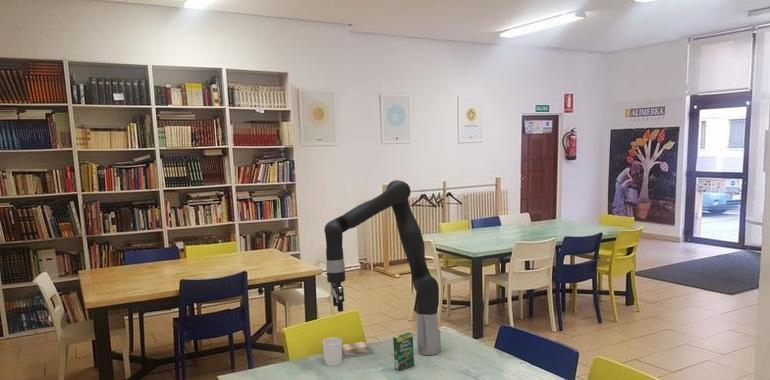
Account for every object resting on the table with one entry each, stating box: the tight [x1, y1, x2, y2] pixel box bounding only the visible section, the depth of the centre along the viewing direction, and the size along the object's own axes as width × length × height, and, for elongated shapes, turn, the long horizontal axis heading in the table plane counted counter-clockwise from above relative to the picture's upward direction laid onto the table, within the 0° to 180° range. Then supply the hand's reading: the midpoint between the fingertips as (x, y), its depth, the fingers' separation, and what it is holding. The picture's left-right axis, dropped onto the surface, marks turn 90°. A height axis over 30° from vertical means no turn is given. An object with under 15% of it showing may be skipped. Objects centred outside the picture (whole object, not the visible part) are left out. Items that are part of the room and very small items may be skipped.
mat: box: [342, 343, 375, 360], centre depth 210 cm, size 14×12×1 cm
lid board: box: [342, 341, 369, 356], centre depth 210 cm, size 10×6×2 cm, turn 107°
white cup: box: [322, 337, 343, 367], centre depth 199 cm, size 8×8×10 cm
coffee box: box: [392, 332, 415, 372], centre depth 193 cm, size 8×3×13 cm, turn 122°
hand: (338, 308), depth 201 cm, fingers open, 8 cm apart
